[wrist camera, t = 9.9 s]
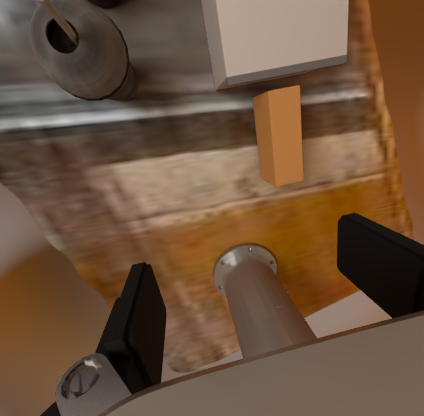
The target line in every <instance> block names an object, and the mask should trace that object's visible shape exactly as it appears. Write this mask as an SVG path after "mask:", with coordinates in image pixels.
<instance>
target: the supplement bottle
mask: <svg viewBox="0 0 424 416" xmlns="http://www.w3.org/2000/svg"><path fill="white" fill-rule="evenodd" d="M88 1H89V2H91V3H93V4H95V5H98V6H102V7H108V6H113V5H115V4H117V3H118V2H119V1H121V0H88Z"/></svg>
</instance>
